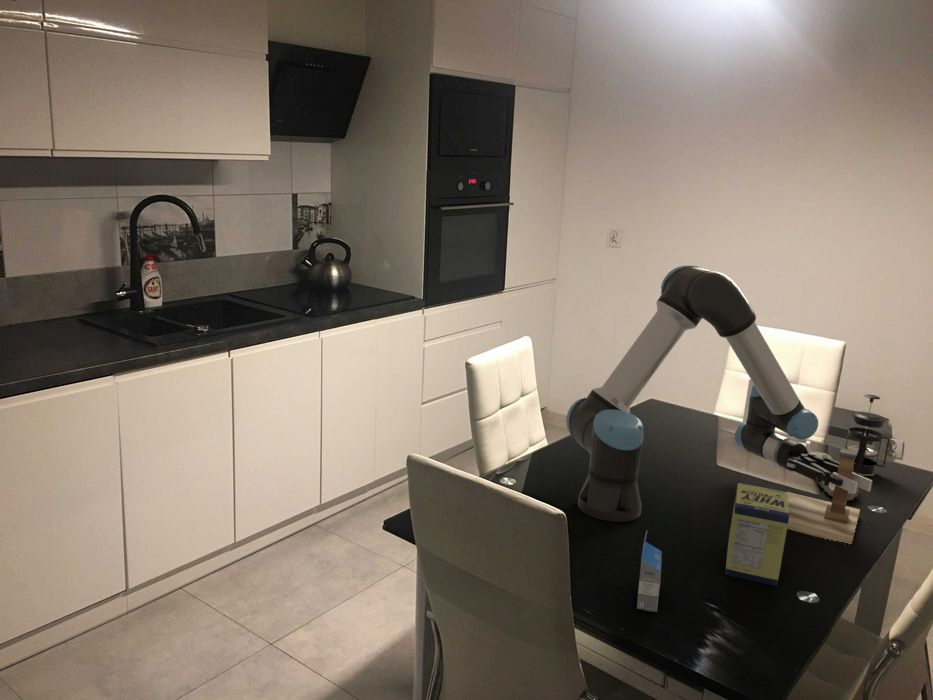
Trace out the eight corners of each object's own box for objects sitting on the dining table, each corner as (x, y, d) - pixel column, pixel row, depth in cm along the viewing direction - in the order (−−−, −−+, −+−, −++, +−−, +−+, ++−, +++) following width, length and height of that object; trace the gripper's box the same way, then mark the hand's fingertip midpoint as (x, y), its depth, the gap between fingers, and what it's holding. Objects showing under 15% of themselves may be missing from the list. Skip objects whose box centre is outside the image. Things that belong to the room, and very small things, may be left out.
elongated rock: (832, 466, 242) (797, 463, 244) (834, 449, 241) (799, 446, 243) (866, 505, 208) (825, 501, 210) (868, 485, 207) (827, 482, 209)
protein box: (776, 555, 176) (787, 489, 172) (777, 587, 161) (790, 516, 158) (727, 545, 179) (737, 480, 176) (724, 575, 165) (735, 505, 161)
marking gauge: (846, 524, 190) (859, 456, 186) (823, 518, 193) (836, 451, 189) (848, 517, 194) (861, 451, 191) (826, 511, 197) (838, 446, 193)
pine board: (851, 545, 183) (852, 537, 183) (756, 520, 193) (757, 513, 193) (858, 516, 200) (860, 509, 200) (771, 495, 210) (772, 488, 210)
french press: (836, 471, 233) (850, 395, 228) (839, 462, 241) (853, 388, 236) (881, 481, 227) (896, 403, 222) (883, 471, 235) (897, 396, 230)
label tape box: (656, 613, 148) (665, 552, 146) (634, 608, 150) (642, 548, 147) (658, 590, 157) (666, 532, 154) (637, 586, 158) (645, 529, 155)
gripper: (807, 463, 212) (885, 498, 191) (758, 469, 204) (834, 506, 184) (812, 436, 210) (891, 468, 189) (763, 441, 203) (839, 475, 182)
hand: (862, 486), depth 187 cm, fingers closed on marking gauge, 4 cm apart
